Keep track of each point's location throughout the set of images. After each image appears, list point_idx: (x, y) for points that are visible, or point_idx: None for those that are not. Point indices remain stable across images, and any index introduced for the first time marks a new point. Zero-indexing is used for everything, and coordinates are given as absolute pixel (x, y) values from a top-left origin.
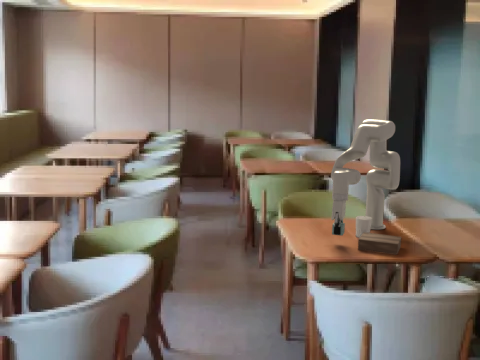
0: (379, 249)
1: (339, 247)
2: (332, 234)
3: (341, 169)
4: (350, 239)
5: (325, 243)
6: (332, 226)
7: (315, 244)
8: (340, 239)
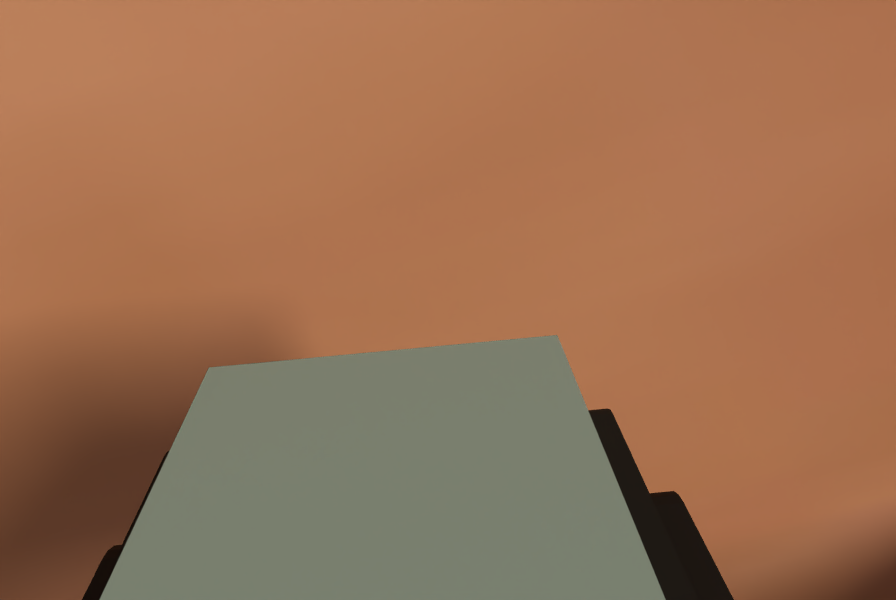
0: None
1: (134, 451)
2: (209, 385)
3: None
4: (820, 443)
5: (218, 102)
6: (108, 597)
7: None
8: (748, 292)
